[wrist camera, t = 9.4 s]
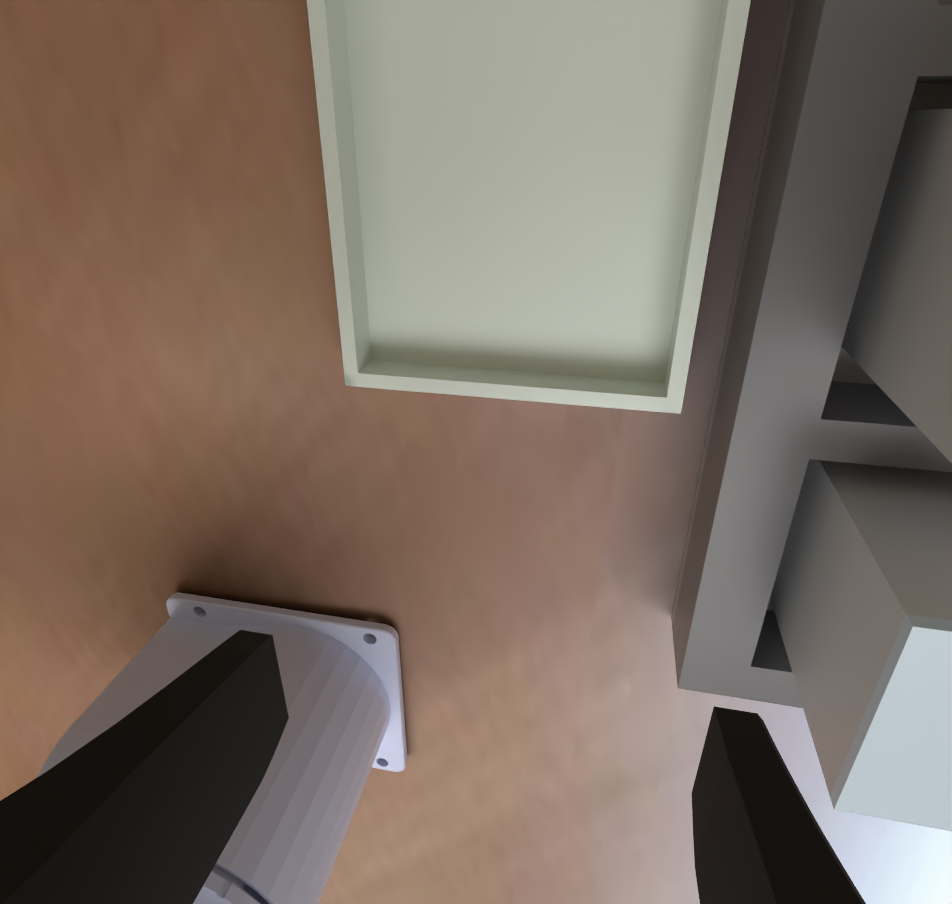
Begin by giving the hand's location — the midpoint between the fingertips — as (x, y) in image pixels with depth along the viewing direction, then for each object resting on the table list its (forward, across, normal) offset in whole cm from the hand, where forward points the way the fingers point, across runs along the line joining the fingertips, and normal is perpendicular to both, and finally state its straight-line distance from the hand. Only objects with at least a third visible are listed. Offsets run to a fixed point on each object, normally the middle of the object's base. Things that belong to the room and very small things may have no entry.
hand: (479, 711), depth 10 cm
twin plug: (+9, -9, +2) cm, 13 cm away
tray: (+10, +1, -8) cm, 13 cm away
